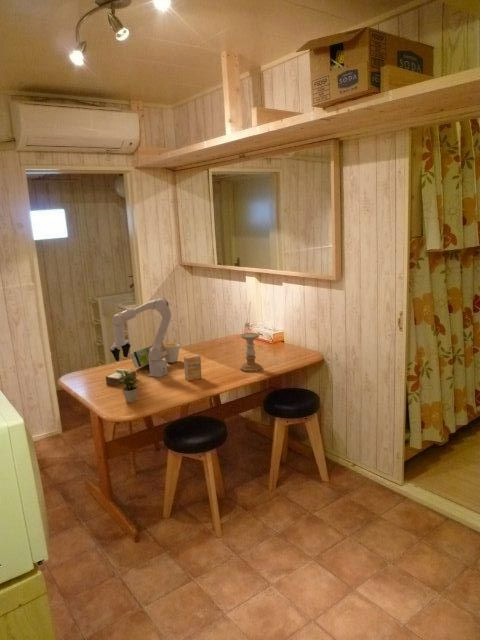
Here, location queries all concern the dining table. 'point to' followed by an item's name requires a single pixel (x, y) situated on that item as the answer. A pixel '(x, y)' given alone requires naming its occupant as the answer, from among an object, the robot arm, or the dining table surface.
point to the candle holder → (250, 353)
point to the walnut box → (117, 381)
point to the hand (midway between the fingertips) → (121, 358)
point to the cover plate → (119, 373)
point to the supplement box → (192, 367)
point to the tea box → (145, 356)
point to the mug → (172, 352)
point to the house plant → (129, 387)
